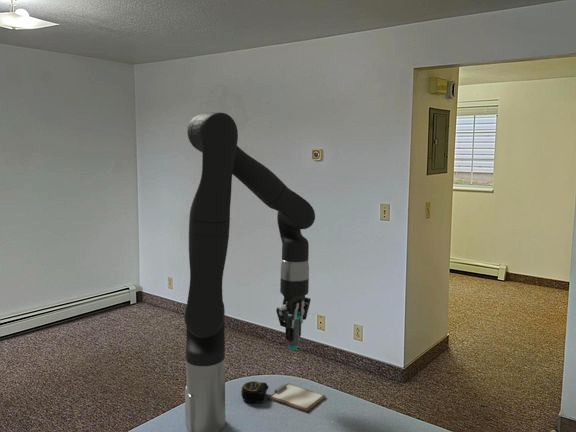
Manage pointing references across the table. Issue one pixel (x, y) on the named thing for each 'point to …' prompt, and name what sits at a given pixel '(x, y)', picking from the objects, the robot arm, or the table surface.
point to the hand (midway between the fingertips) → (293, 338)
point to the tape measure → (254, 391)
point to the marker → (295, 334)
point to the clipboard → (296, 397)
